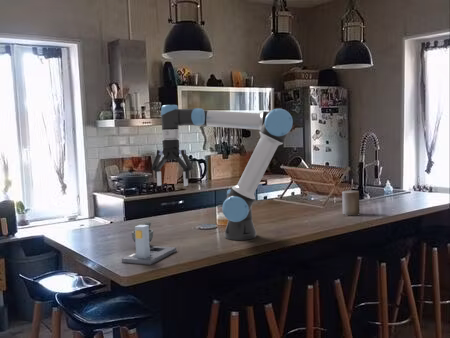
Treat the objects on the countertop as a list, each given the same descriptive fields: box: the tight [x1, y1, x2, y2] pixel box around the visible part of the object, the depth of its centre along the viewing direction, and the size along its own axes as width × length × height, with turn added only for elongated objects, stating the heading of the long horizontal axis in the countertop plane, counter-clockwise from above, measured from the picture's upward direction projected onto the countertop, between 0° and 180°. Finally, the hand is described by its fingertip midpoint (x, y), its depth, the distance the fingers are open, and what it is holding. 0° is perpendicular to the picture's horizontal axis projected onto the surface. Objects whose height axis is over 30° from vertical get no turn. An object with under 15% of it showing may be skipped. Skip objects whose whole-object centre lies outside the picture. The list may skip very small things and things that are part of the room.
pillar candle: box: [341, 189, 361, 216], centre depth 282 cm, size 10×10×15 cm
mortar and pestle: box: [131, 220, 154, 246], centre depth 219 cm, size 11×9×12 cm
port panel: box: [121, 245, 177, 266], centre depth 201 cm, size 22×13×2 cm, turn 158°
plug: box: [134, 224, 151, 258], centre depth 195 cm, size 4×5×14 cm
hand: (172, 185), depth 221 cm, fingers open, 13 cm apart
